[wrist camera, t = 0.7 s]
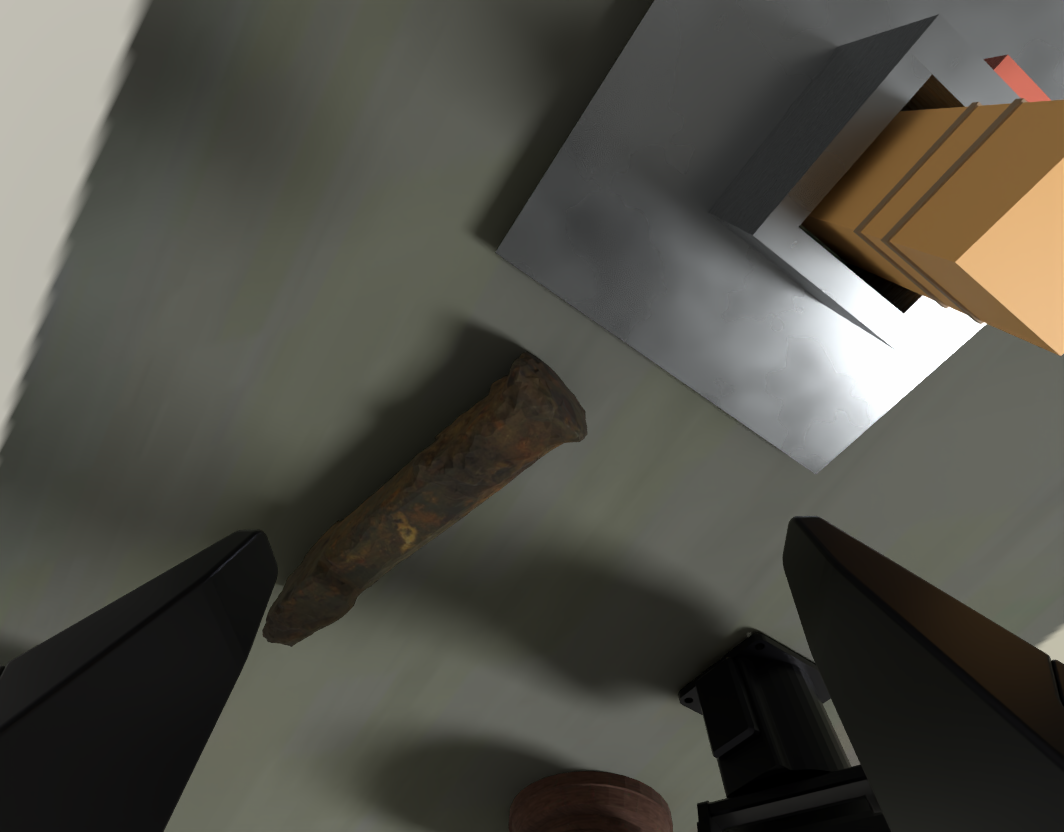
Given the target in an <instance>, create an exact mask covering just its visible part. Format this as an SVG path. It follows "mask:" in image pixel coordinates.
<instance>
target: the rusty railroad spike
mask: <svg viewBox="0 0 1064 832" xmlns="http://www.w3.org/2000/svg"><path fill="white" fill-rule="evenodd" d="M585 419H586V418H585V410H584V409H583V408H582V407H581V405H580V403H579V402H578V400H577V399H576V397H575V395H574V394H573V393H572V392H571V391H570V390H569V389H568V388H567V387H566V385H565V384H564V383H563V381H562V380H561V379H560V377H559V376H558V375H557V374H556V373H555V372H554V371H553V370H552V369H551V368H550V367H549V366H548V365H547V364H545V363H544V362H543V361H541V360H540V359H538V358H537V357H536V356H534V355H532V354H530V353H528V352H524V353H522V354H521V356H520V358H518V359H516V360H515V361H514V362H513V364H512V366H511V370H510V373H509V375H507V376H504V377H503V378H501V379H499V380H497V381H495V382H494V383H493V384H492V385H491V388H490V392H489V395H488V396H486V397H485V398H484V399H482V400H481V401H479V402H478V403H477V404H475V405H474V406H473V407H472V408H470V409H469V410H468V411H467V412H465V413H463V414H462V415H460V416H459V417H458V418H457V419H456V420H455V421H454V422H453V423H452V424H451V425H450V426H448V427H446V428H445V429H444V430H443V431H442V432H441V433H439V434H438V435H437V436H436V437H435V439H436V441H435V442H434V443H433V444H431V445H430V446H429V447H427V448H426V449H425V450H423V451H422V452H420V453H418V454H417V455H416V456H415V457H414V458H413V459H412V460H411V461H410V462H409V463H408V464H407V465H406V466H405V467H403V468H402V469H401V470H400V471H399V472H398V473H397V474H396V475H395V476H393V477H392V478H391V479H390V480H389V481H388V482H387V483H385V484H384V485H383V486H382V487H381V488H380V489H379V490H378V491H376V492H375V493H374V494H373V495H372V496H370V497H369V498H368V499H367V500H366V501H364V502H363V503H362V504H361V505H360V506H359V507H358V508H357V509H356V510H355V511H353V512H352V513H351V514H349V515H348V516H347V517H346V518H345V519H344V520H343V521H337V522H336V523H335V524H334V525H333V526H332V527H331V528H330V529H329V530H328V531H327V532H326V533H325V534H324V535H323V536H322V537H321V538H320V539H319V540H318V541H317V543H316V544H315V545H314V546H313V547H312V548H311V549H310V551H309V552H308V553H307V555H306V556H305V557H304V560H303V562H302V563H301V565H300V566H298V567H297V569H296V570H295V571H294V573H292V574H291V575H290V576H289V577H288V579H287V580H286V584H285V586H284V588H283V591H282V592H281V593H280V594H279V596H278V598H277V599H276V601H275V602H274V603H273V605H272V606H271V608H270V610H269V612H268V615H267V618H266V624H265V626H264V628H263V630H262V631H263V637H265V638H266V639H267V641H268V642H271V643H281V644H284V645H289V646H291V647H292V646H293V645H295V644H296V643H298V642H300V641H301V640H303V639H304V638H306V637H308V636H310V635H312V634H313V633H314V632H316V631H318V630H320V629H322V628H324V627H326V626H328V625H330V624H332V623H334V622H335V621H337V620H339V619H340V618H342V617H343V616H344V615H345V614H346V613H347V612H348V611H349V610H350V609H351V608H352V607H353V606H354V603H355V601H356V599H357V597H358V595H359V594H360V593H362V592H363V591H364V590H365V589H366V588H368V587H370V586H372V585H373V584H374V583H375V582H376V581H377V580H378V579H380V578H381V577H382V576H383V575H384V574H386V573H387V572H388V571H389V570H391V569H392V568H393V567H394V566H395V565H396V564H398V563H399V562H400V561H402V560H404V559H406V558H408V557H409V556H410V555H412V554H413V553H414V552H416V551H417V550H418V549H420V548H421V547H422V546H424V545H425V544H427V543H428V542H430V541H431V540H433V539H434V538H435V537H437V536H438V535H440V534H441V533H442V532H444V531H445V530H446V529H448V528H449V527H450V526H452V525H453V524H454V523H456V522H457V521H459V520H460V519H461V518H463V517H464V516H466V515H467V514H468V513H469V512H470V511H471V510H473V509H474V508H476V507H477V506H479V505H480V504H481V503H483V502H484V501H485V500H487V499H488V498H489V497H490V496H492V495H493V494H494V493H496V492H497V491H499V490H500V489H502V488H503V487H504V486H505V485H507V484H508V483H509V482H510V481H512V480H513V479H514V478H515V477H516V476H518V475H519V474H520V473H521V472H523V471H524V470H525V469H527V468H528V467H530V466H531V465H532V464H534V463H535V462H536V461H537V460H538V459H540V458H541V457H542V456H544V455H545V454H547V453H548V452H549V451H551V450H553V449H554V448H556V447H558V446H559V445H561V444H563V443H568V442H580V441H581V440H583V439H584V438H585V436H586V435H587V425H586V420H585Z"/></svg>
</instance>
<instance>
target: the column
mask: <svg viewBox="0 0 1064 832" xmlns="http://www.w3.org/2000/svg"><path fill="white" fill-rule="evenodd" d="M799 228H800V229H802V230H803V231H804V232H805V233H806V234H808V235H809V236H810V237H811V238H812V239H814V240H815V241H816V242H817V243H819V244H820V245H821V246H822V247H823V248H825V249H826V250H827V251H828V252H829V253H831V254H832V255H833V256H834V257H835V258H837V259H838V260H839V261H840V262H842V263H844V264H847V263H849V264H852V265H854V266H856V267H859V268H861V269H863V270H865V271H868V272H870V273H872V274H875V275H877V276H879V277H881V278H884V279H886V280H888V281H891V282H893V283H895V284H897V285H900V286H902V287H904V288H907V289H909V290H911V291H913V292H916V293H918V294H920V295H922V296H925V297H927V298H929V299H932V300H934V301H935V302H936V303H938V304H939V305H940V306H941V307H943V308H945V309H947V308H948V307H950V308H952V309H954V310H957V311H959V312H961V313H964V314H966V315H968V316H969V317H970V318H971V319H972V320H974V321H975V322H977V323H979V324H983V323H986V324H989V325H991V326H993V327H995V328H998V329H1000V330H1002V331H1005V332H1007V333H1009V334H1011V335H1014V336H1016V337H1018V338H1021V339H1023V340H1025V341H1027V342H1030V343H1032V344H1034V345H1037V346H1039V347H1041V348H1043V349H1046V350H1048V351H1050V352H1053V353H1055V354H1057V355H1059V356H1061V355H1062V354H1064V100H1052V101H1038V102H1027V101H1026V100H1025V99H1024V98H1020V99H1015V100H1014V101H1013V102H1012V103H1010V104H996V105H982V104H981V103H980V102H972V103H971V104H970V105H969V106H968V107H954V108H940V109H926V110H912V111H900V112H899V113H898V114H897V115H896V116H895V117H894V118H893V120H892V121H891V122H890V123H889V124H888V125H887V126H886V128H885V129H884V130H883V131H882V132H881V133H880V134H879V136H878V137H877V138H876V139H875V140H874V141H873V142H872V144H871V145H870V146H869V147H868V148H867V149H866V150H865V152H864V153H863V154H862V155H861V156H860V157H859V158H858V160H857V161H856V162H855V163H854V164H853V165H852V166H851V168H850V169H849V170H848V171H847V172H846V173H845V174H844V176H843V177H842V178H841V179H840V180H839V181H838V182H837V184H836V185H835V186H834V187H833V188H832V189H831V190H830V191H829V193H828V194H827V195H826V196H825V197H824V198H823V199H822V201H821V202H820V203H819V204H818V205H817V206H816V207H815V209H814V210H813V211H812V212H811V213H810V214H809V215H808V217H807V218H806V219H805V220H804V221H803V222H802V223H801V225H800V226H799Z"/></svg>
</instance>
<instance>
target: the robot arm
mask: <svg viewBox="0 0 1064 832" xmlns="http://www.w3.org/2000/svg"><path fill="white" fill-rule="evenodd" d="M783 567H784V571H785V574H786V577H787V580H788V583H789V587H790V590H791V593H792V596H793V599H794V602H795V605H796V608H797V611H798V615H799V618H800V621H801V624H802V627H803V630H804V633H805V636H806V639H807V642H808V645H809V648H810V651H811V654H812V656H813V659H814V661H815V664H816V665H815V664H813V663H811V662H810V661H808V660H806V659H805V658H803V657H801V656H799V655H798V654H796V653H794V652H792V651H791V650H789V649H787V648H786V647H784V646H782V645H780V644H779V643H777V642H775V641H773V640H772V639H770V638H768V637H767V636H765V635H763V634H754V635H752V636H750V637H749V638H748V639H746V640H745V641H744V642H742V643H741V644H740V645H739V646H737V647H736V648H735V649H733V650H732V651H731V652H730V653H728V654H727V655H726V656H724V657H723V658H722V659H721V660H719V661H718V662H717V663H715V664H714V665H713V666H712V667H710V668H709V669H708V670H706V671H705V672H704V673H703V674H701V675H700V676H699V677H697V678H696V679H695V680H694V681H692V682H691V683H690V684H688V685H687V686H686V687H685V688H683V689H682V690H681V691H680V692H679V694H678V695H679V700H680V703H681V704H682V705H684V706H686V707H688V708H690V709H691V710H693V711H695V712H697V713H699V714H701V715H703V718H704V722H705V726H706V730H707V734H708V738H709V742H710V746H711V750H712V754H713V756H714V757H715V758H717V762H718V766H719V770H720V773H721V777H722V781H723V785H724V789H725V793H726V797H727V798H726V799H722V800H718V801H714V802H710V803H709V801H705V802H701V803H698V804H697V808H698V819H699V822H697V828H698V832H1064V664H1063V663H1061V662H1059V661H1058V660H1052V661H1051V658H1050V656H1049V655H1047V654H1045V653H1044V652H1043V651H1041V650H1039V649H1038V648H1036V647H1034V646H1033V645H1031V644H1029V643H1028V642H1026V641H1024V640H1023V639H1021V638H1019V637H1018V636H1016V635H1014V634H1013V633H1011V632H1009V631H1008V630H1006V629H1004V628H1003V627H1001V626H999V625H998V624H996V623H995V622H993V621H991V620H990V619H988V618H986V617H985V616H983V615H981V614H980V613H978V612H976V611H975V610H973V609H971V608H970V607H968V606H966V605H965V604H963V603H961V602H960V601H958V600H956V599H955V598H953V597H951V596H950V595H948V594H947V593H945V592H943V591H942V590H940V589H938V588H937V587H935V586H933V585H932V584H930V583H928V582H927V581H925V580H923V579H922V578H920V577H918V576H917V575H915V574H913V573H912V572H910V571H908V570H907V569H905V568H903V567H902V566H900V565H898V564H897V563H895V562H894V561H892V560H890V559H889V558H887V557H885V556H884V555H882V554H880V553H879V552H877V551H875V550H874V549H872V548H870V547H869V546H867V545H865V544H864V543H862V542H860V541H859V540H857V539H855V538H854V537H852V536H850V535H849V534H847V533H846V532H844V531H842V530H841V529H839V528H837V527H836V526H834V525H832V524H831V523H829V522H827V521H826V520H824V519H822V518H820V517H818V516H795V517H793V518H792V519H791V520H790V521H789V524H788V529H787V535H786V540H785V546H784V551H783ZM277 574H278V568H277V563H276V560H275V557H274V555H273V552H272V549H271V546H270V544H269V541H268V538H267V536H266V534H265V533H264V532H263V531H261V530H239V531H236V532H234V533H232V534H231V535H229V536H227V537H225V538H224V539H222V540H220V541H218V542H217V543H215V544H213V545H211V546H210V547H208V548H206V549H204V550H203V551H201V552H199V553H197V554H196V555H194V556H192V557H191V558H189V559H187V560H185V561H184V562H182V563H180V564H178V565H177V566H175V567H173V568H171V569H170V570H168V571H166V572H164V573H163V574H161V575H159V576H157V577H156V578H154V579H152V580H150V581H149V582H147V583H145V584H144V585H142V586H140V587H138V588H137V589H135V590H133V591H131V592H130V593H128V594H126V595H124V596H123V597H121V598H119V599H117V600H116V601H114V602H112V603H110V604H109V605H107V606H105V607H104V608H102V609H100V610H98V611H97V612H95V613H93V614H91V615H90V616H88V617H86V618H84V619H83V620H81V621H79V622H77V623H76V624H74V625H72V626H70V627H69V628H67V629H65V630H63V631H62V632H60V633H58V634H57V635H55V636H53V637H51V638H50V639H48V640H46V641H44V642H43V643H41V644H39V645H37V646H36V647H34V648H32V649H30V650H29V651H27V652H25V653H23V654H22V655H20V656H18V657H16V658H15V659H13V660H11V661H10V662H8V663H7V665H6V666H1V667H0V832H164V830H165V828H166V826H167V824H168V821H169V819H170V817H171V815H172V813H173V811H174V809H175V807H176V805H177V803H178V801H179V799H180V797H181V795H182V793H183V791H184V788H185V786H186V784H187V782H188V780H189V778H190V776H191V774H192V772H193V770H194V768H195V766H196V764H197V762H198V760H199V758H200V755H201V753H202V751H203V749H204V747H205V745H206V743H207V741H208V739H209V737H210V735H211V733H212V731H213V729H214V727H215V725H216V722H217V720H218V718H219V716H220V714H221V712H222V710H223V708H224V706H225V704H226V702H227V700H228V698H229V696H230V694H231V692H232V689H233V687H234V685H235V683H236V681H237V679H238V677H239V675H240V673H241V671H242V669H243V666H244V664H245V662H246V660H247V657H248V655H249V652H250V650H251V647H252V645H253V642H254V639H255V637H256V634H257V631H258V628H259V626H260V623H261V620H262V618H263V615H264V612H265V609H266V607H267V604H268V601H269V598H270V596H271V593H272V590H273V588H274V585H275V582H276V579H277ZM830 698H831V699H832V702H833V704H834V706H835V708H836V711H837V713H838V715H839V717H840V719H841V722H842V724H843V726H844V728H845V731H846V733H847V735H848V737H849V739H850V742H851V744H852V746H853V748H854V750H855V753H856V755H857V757H858V759H859V762H860V764H861V765H857V766H853V767H852V766H851V764H850V762H849V760H848V758H847V756H846V754H845V751H844V749H843V747H842V745H841V743H840V741H839V739H838V736H837V734H836V732H835V730H834V728H833V726H832V723H831V721H830V719H829V717H828V715H827V713H826V711H825V708H824V706H823V703H824V702H826V701H827V700H829V699H830Z"/></svg>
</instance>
